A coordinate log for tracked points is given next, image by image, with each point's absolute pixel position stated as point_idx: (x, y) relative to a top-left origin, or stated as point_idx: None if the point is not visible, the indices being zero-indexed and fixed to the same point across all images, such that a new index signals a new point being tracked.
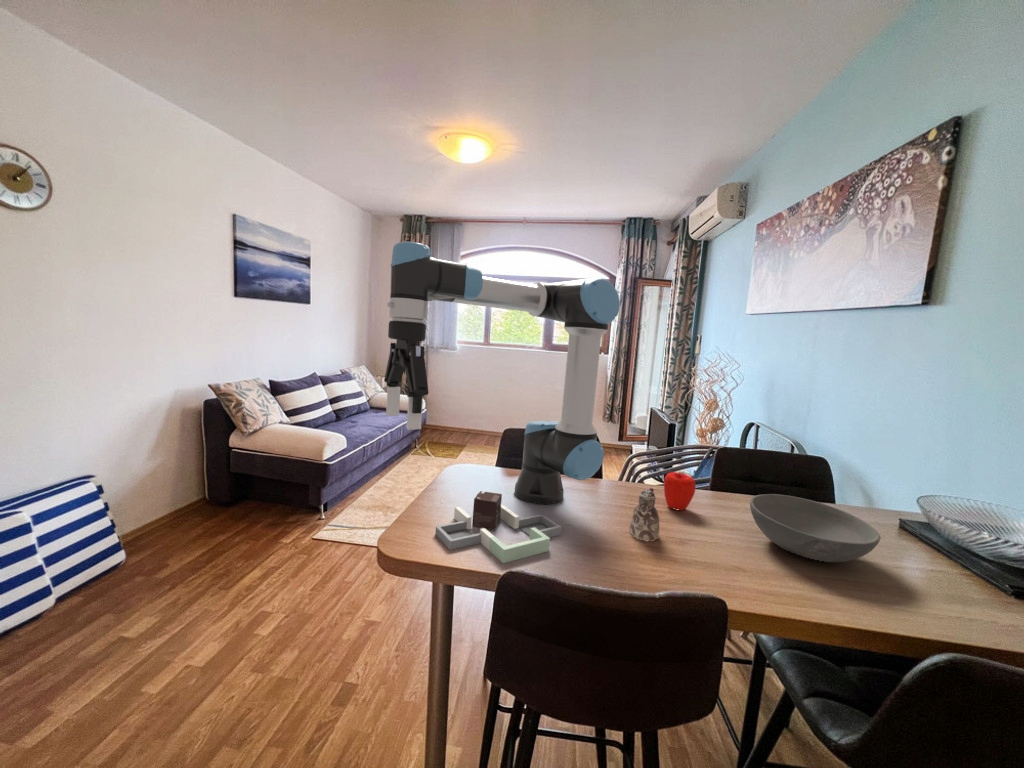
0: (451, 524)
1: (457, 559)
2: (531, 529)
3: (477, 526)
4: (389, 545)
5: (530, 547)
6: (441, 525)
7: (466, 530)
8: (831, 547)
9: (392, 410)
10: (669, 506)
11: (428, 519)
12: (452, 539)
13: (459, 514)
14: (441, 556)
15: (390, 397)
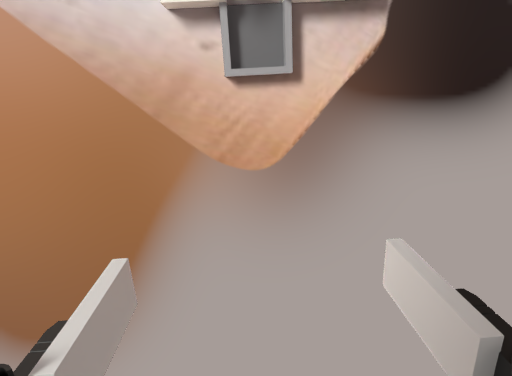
0: (227, 42)
1: (322, 73)
2: None
3: None
4: (237, 163)
5: None
6: (225, 64)
7: (235, 10)
8: None
9: (125, 301)
10: None
11: (157, 67)
12: (287, 66)
13: (188, 3)
14: (303, 95)
15: (101, 363)
